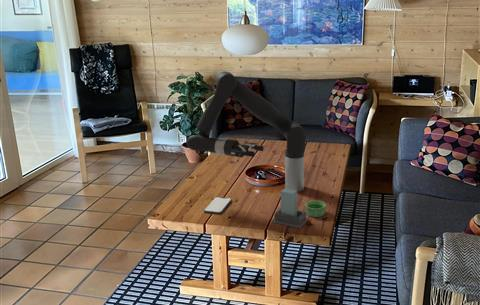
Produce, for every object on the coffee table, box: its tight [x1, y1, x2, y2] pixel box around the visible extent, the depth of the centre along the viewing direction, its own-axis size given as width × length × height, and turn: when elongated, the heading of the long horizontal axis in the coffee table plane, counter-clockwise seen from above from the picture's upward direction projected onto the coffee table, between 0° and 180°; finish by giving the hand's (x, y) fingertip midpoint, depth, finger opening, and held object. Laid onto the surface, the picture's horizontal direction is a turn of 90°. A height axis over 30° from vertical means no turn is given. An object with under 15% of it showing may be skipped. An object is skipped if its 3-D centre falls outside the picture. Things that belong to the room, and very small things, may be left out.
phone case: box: [203, 196, 233, 215], centre depth 242 cm, size 9×2×16 cm
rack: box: [271, 207, 309, 229], centre depth 224 cm, size 9×13×4 cm
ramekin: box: [305, 200, 327, 218], centre depth 231 cm, size 9×9×4 cm
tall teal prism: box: [280, 188, 298, 217], centre depth 222 cm, size 4×6×13 cm, turn 60°
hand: (258, 151), depth 228 cm, fingers open, 8 cm apart
